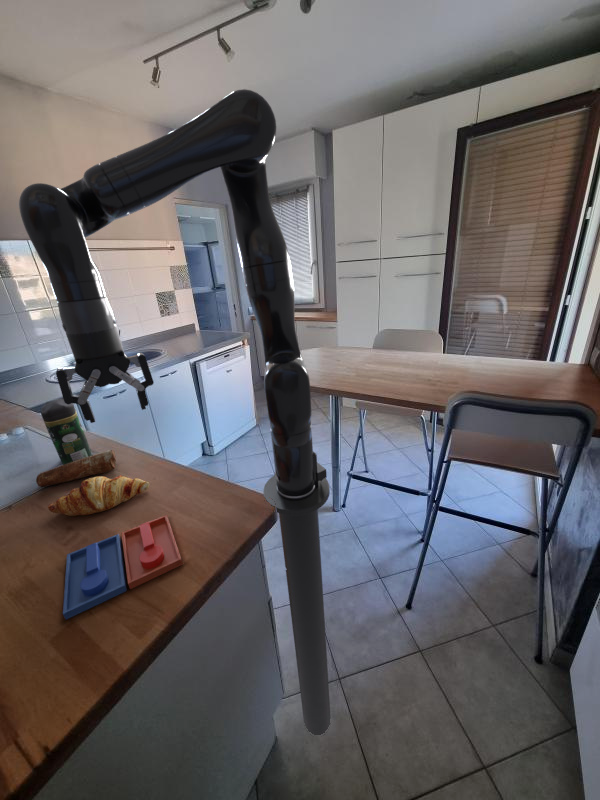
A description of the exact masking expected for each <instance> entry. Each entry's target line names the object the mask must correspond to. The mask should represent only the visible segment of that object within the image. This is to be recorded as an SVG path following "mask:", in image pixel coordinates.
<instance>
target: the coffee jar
mask: <svg viewBox="0 0 600 800" xmlns="http://www.w3.org/2000/svg"><path fill="white" fill-rule="evenodd" d="M40 415H41V418H42V420H43V421H42V422H43V423H44V425H45V428H46V431H47V433H48V435H49V437H50V439H51V442H52V444H53V447H54V448H55V451H56V452H57V455H58V458H59V460H60V462H61V464H62V465H65V464H68V463H71V462H74V461H76V460H79V459H83V458H86V457H89V456H92V455H93V452H92V449H91V446H90V444H89V442H88V439H87V436H86V434H85V431H84V428H83V426H82V423H81V420H80V418H79V416H78V413H77V410H76V408H75V405H74V403H71V404H66V403H65V402H64V399H63V397H61V398H57V399H53V400H49V401H46V402H45V404H43V405H42V406H41V407H40Z"/></svg>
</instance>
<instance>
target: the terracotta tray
mask: <svg viewBox="0 0 600 800" xmlns="http://www.w3.org/2000/svg"><path fill="white" fill-rule="evenodd" d="M148 522H149V525H150V528H151V531H152V535H153V539H154V543H155V545H158V546H160V547H161V548H162V550H163V553H164V559H163V561H162V562H161V563H160V564H159V565H158V566H156V567H154V568H151V569H145V568H143V567H142V565H141V562H140V555H141V553H142V552H143V551H144V546H143V541H142V536H141V531H140V527H139V525H138V526H135V527H133V528H130V529H127V530H125V531H122V532H121V543H122V551H123V558H124V562H125V565H124V566H125V571H126V572H125V573H126V579H127V580H126V581H127V585H128V587H129V589H130V590H132V589H134V588H136V587H138V586H141V585H142V584H144V583H147V582H149V581H151V580H154V579H155V578H157V577H160V576H161V575H163V574H166V573H168V572H170V571H172V570H174V569H176V568H179V567H180V566H182V565H183V563H184V562H183V560H182V557H181V553H180V550H179V548H178V545H177V542H176V538H175V535H174V533H173V529H172V527H171V522H170V520H169V518H168V515H167V514H165V515H162V516H159V517H157V518H155V519H152V520H150V521H148Z"/></svg>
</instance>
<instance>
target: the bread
mask: <svg viewBox="0 0 600 800" xmlns="http://www.w3.org/2000/svg"><path fill="white" fill-rule="evenodd" d="M116 462H117V460H116V454H115V450H113V449H111V450H110V449H109V450H106V451H102V452H99V453H95V454H92V456H89V457H86V458H83V459H79V460H76V461H74V462H71V463H68V464H65V465H63V464H62V465H59V466H56V467H53V468H50V469H48V470H46V471H42V472H40V473H38V474H37V475H36V479H35V482H36V484H37V486H38V487H39V488H46V487H50V486H55V485H58V484H63V483H67V482H71V481H75V480H78V479H83V478H87V477H90V476H95V475H99V474H103V473H108V472H110V471H111V472H112V471H113V470H115V469H117V467H116Z"/></svg>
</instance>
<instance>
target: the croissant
mask: <svg viewBox="0 0 600 800" xmlns="http://www.w3.org/2000/svg"><path fill="white" fill-rule="evenodd" d="M149 487H150V483H149V482H148V481H145V480H143V479H141V478H138V477H137V478H136V477H135V478H133V479H132V478H131V477H127V476H123V475H122V474H120V475H118V476H116V477H113V478H108V477H106V476H101V475H100V476H99V475H98V476H94V477H89V478H87V479H85V480H82V482H81V483H80V486H79V487H74V488H73V489H71V490H70V492H69V494H67V495H62V496H61V497H59V498H57V499H56V501H54V502H52V503H49V504H48V505H47V510H49V512H51V513H53V514H61V515H66V516H69V517H75V516H76V517H77V516H89V515H94V514H95V513H96V514H97V513H101V512H105V511H108V510H110V509H113V508H115V507H116V506H118V505H120V504H121V503H124V502H127V501H129V500H130V499H132V498H133V497H135V495H141V494H143V493H144V492H145V491H147V490H148V489H149Z"/></svg>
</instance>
